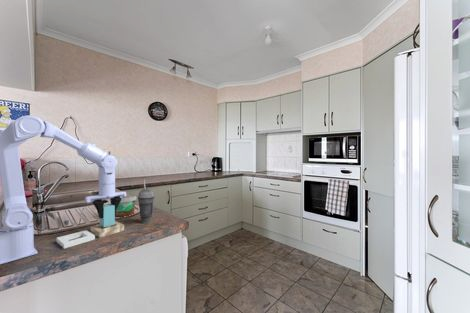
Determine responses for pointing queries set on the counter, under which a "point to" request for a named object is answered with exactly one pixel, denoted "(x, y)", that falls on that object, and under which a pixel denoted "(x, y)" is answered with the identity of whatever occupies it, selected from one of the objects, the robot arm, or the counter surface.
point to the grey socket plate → (65, 243)
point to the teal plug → (108, 215)
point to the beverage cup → (146, 204)
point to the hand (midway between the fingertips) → (107, 216)
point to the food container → (126, 206)
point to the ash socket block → (106, 229)
